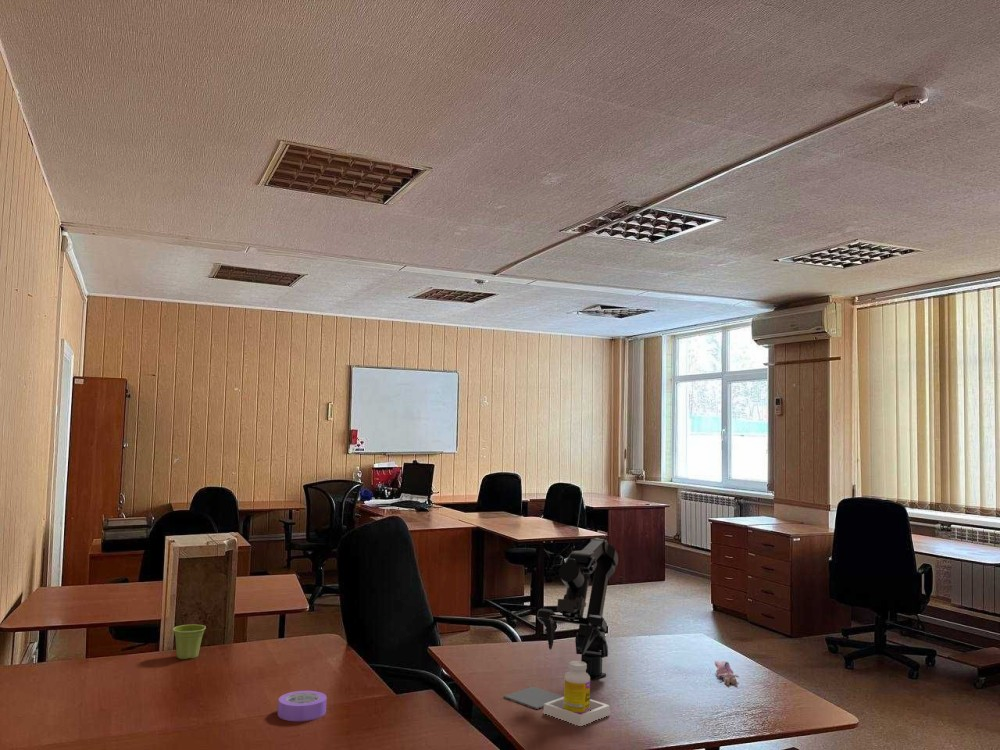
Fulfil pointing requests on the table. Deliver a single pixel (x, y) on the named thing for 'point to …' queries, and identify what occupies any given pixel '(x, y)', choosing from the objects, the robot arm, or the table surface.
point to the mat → (533, 697)
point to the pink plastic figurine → (726, 672)
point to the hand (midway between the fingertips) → (566, 651)
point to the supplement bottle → (577, 688)
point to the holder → (596, 713)
